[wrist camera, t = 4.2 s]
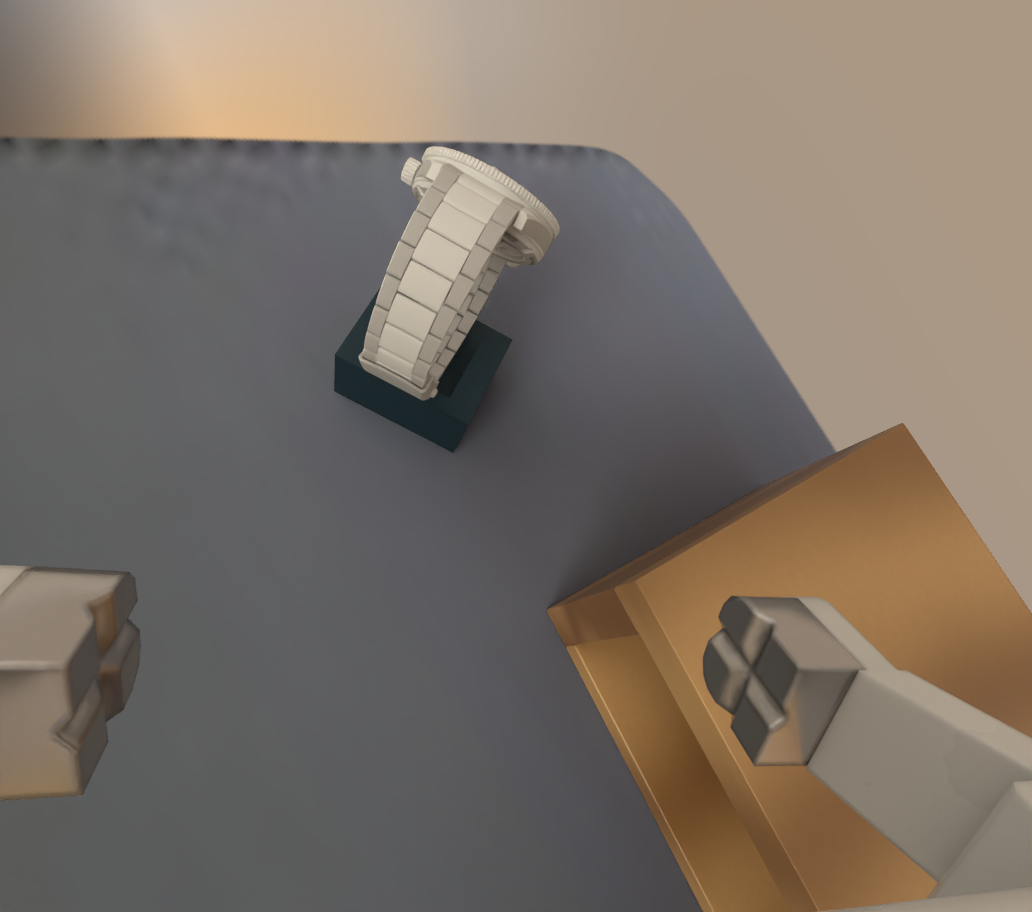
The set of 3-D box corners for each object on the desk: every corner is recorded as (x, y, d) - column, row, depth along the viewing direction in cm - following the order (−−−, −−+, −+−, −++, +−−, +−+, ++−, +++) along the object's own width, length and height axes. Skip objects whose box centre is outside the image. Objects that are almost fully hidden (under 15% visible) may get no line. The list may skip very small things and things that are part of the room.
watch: (510, 342, 28) (607, 160, 19) (434, 487, 25) (504, 360, 15) (402, 283, 28) (442, 63, 18) (309, 424, 24) (297, 248, 15)
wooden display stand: (986, 846, 27) (1231, 908, 19) (788, 1077, 21) (1021, 1278, 14) (764, 485, 30) (903, 422, 23) (545, 610, 25) (635, 580, 17)
